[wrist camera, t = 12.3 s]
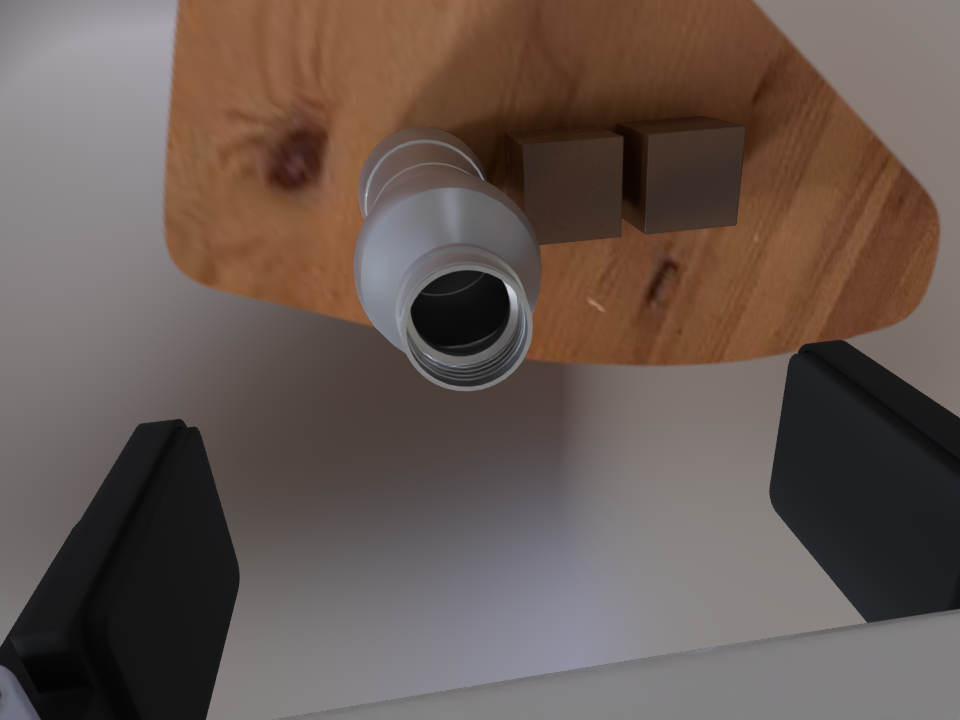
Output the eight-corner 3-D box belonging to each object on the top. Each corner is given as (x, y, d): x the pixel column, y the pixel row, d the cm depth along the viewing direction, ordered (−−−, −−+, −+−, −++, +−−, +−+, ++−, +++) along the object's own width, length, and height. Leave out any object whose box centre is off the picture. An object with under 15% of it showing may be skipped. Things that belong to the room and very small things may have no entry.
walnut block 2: (616, 123, 36) (648, 133, 32) (703, 115, 37) (746, 125, 32) (614, 213, 38) (644, 234, 34) (696, 205, 39) (737, 225, 34)
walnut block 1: (504, 132, 36) (522, 144, 31) (594, 124, 36) (624, 136, 32) (508, 223, 38) (525, 246, 33) (593, 215, 38) (621, 237, 34)
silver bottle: (450, 99, 35) (532, 158, 17) (501, 219, 37) (617, 381, 19) (336, 154, 35) (293, 270, 17) (395, 269, 38) (413, 472, 20)
